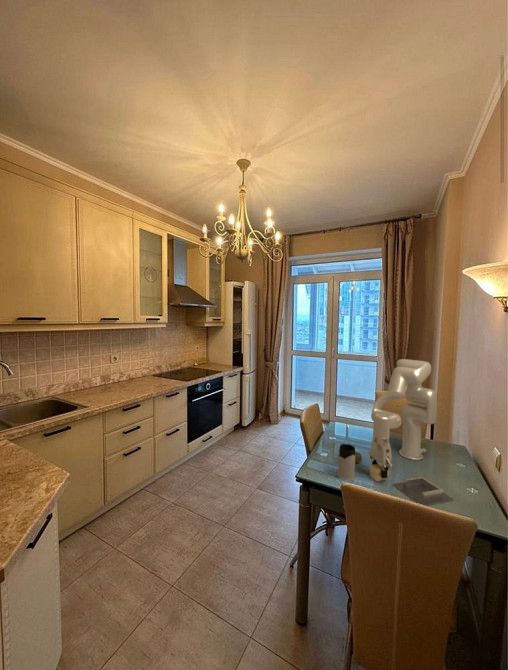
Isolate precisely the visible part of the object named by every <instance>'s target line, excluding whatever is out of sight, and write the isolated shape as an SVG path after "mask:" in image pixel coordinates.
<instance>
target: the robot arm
mask: <svg viewBox="0 0 508 670" xmlns="http://www.w3.org/2000/svg"><path fill="white" fill-rule="evenodd" d="M431 372H432V366H431V364H430V362H428V361H426V360H425V361H424V360H417V359H415V360H414V359H410V358H409V359H406V358H401V359H398V360H397V361H396V367H394V369H393V370H392V373H391V377H390V379H389V384H388V388H387V390H386V391H385V392H384V393H382V394H381V395H380V396H379V397H377V398H376V400H375V401H374V404H373V406H372V409H371V420H372V422H373V428H372V429H373V430H372V440H371V445H370V450H369V451H368V455H369V457H370V462H371V465H372V464H380V463H381V464H382V469H383V470H382V471H381V478H387V474H388V470H389V471H390V470H391V469H392V468H394V467H393V464H392V448H391V444H390V443H391V442H390V432H391V430H392V429H397V428H399V427H401V425H402V442H401V443H402V444H401V448H400V449H399V450H398V453H399V455H400V456H401V457H403V458H406V459H409V460H413V461H421V459H422V460H424V459H423V458H424V455H423V453H425V452H427V448H421V443H422V442H421V440H422V426H421V424H420V423H424V424H427V425H434V424H435V423H436V421H437V416H438V414H437V413H438V412H437V410H438V409H437V408H438V404H437V403H438V397H437V393H436V391H435V390H434V389H431V388H427V387H423V386H422V384H423V382H424V381H426V379H427V378H428V377H430V374H431ZM404 398H405V399H406V400H407V401H408V402H405V403H404V404H403V405H402V409H401V413H402V417H401V416H400V415H399V414H398V413H394V412H390V411H388V410H384V409H383V406H384V405H385V404H387V403H388V402H390V401H395V400H400V399H404ZM384 465H385V466H386V467H384Z"/></svg>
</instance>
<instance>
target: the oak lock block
mask: <svg viewBox="0 0 508 670" xmlns="http://www.w3.org/2000/svg"><path fill="white" fill-rule="evenodd" d="M384 467H386V465H384ZM382 470H383V469H382V464H381V463H378V464H372V463H371V464H370V469H369V477H370V478H371V479H373V480H374V481H375V482H383V481H387V480H388V481H389V477H390V476H389V473H390V469H389V470H388V474H387V478H381V471H382Z"/></svg>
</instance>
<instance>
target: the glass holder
mask: <svg viewBox="0 0 508 670" xmlns="http://www.w3.org/2000/svg"><path fill="white" fill-rule="evenodd" d="M336 445H337V446H338V452H339V454H338V455H337V452H336ZM355 451H356V447H355V446H354V445H352V444H347V443H342V444H339V443H338V442H335V443H334V445H333V452H334V456H335V459H336V461H337V463H338V469H337V470H338V471H337V474H338V475H337V474H336V475H337V477H338V476H339V477H340V479H341V478H343V479H344V481H346V480H347V481H348V482H351V481H354V480H356V474H355V472H356V471H355V470H356V463H355ZM339 477H338V478H339ZM343 479H342V480H343ZM347 481H346V482H347Z"/></svg>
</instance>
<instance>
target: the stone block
mask: <svg viewBox="0 0 508 670" xmlns="http://www.w3.org/2000/svg"><path fill="white" fill-rule="evenodd" d="M361 462H362V454H361V453H360V452H358V451H356V450H355V464H358V463H361Z"/></svg>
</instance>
